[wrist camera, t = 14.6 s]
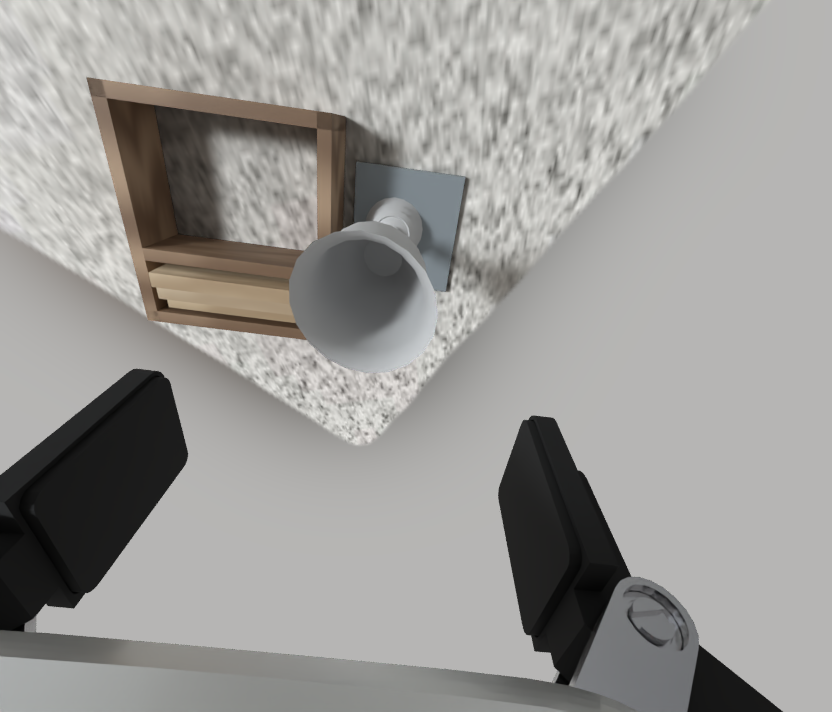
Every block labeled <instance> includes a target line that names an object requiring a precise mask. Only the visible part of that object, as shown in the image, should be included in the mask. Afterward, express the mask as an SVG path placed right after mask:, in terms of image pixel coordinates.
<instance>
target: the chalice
mask: <svg viewBox="0 0 832 712" xmlns="http://www.w3.org/2000/svg"><path fill="white" fill-rule="evenodd" d="M422 231H423V229H422V220H421V218H420V216H419V213H418V211H417V210H416V209H415V208H414V207H413V205H412V204H410V203H408V202H407V201H405V200H403V199H399V198H395V197H393V198H385V199H383V200H381V201H379V202H377V203H376V204H375V205H374V206H373V207H372V208H371V209H370V211H369V213H368V215H367V217H366V222H357V223H355V224H353V225H350V226H348V227H346V228H344V229H342V230H341V231H340V232H333V233H331V234H329V235H327V236H325V237H323V238H320V239H318V240H316V241H314V242H312V243H311V244H310V245H309V247H308V248H307V249H306V250H305V251H304V252H303V253H302V254H301V255H300V256H299V257H298V258H297V260H296V263H295V266H294V269H293V271H292V274H291V277H290V279H289V303H290V306H291V309H292V312H293V315H294V318H295V321H296V324H297V326H298V327H299V329H300V330H301V332H302V333H303V335H304V336H305V338H306V339H307V340H308V342H309V343H310V344H311V345H312V346H313V347H314V348H315V349H317V350H318V351H319V352H320V353H321V354H322V355H323V356H324V357H326V358H327V359H329V360H331V361H333V362H335V363H337V364H339V365H341V366H343V367H345V368H348V369H352V370H356V371H360V372H365V373H378V372H390V371H392V370H395V369H398V368H401V367H404V366H407V365H408V364H409V363H411V362H412V361H413V360H415V359H416V358H417V357H418V356H420V355H421V354H422V353H423V352H424V351H425V349H426V347H427V346H428V344H429V342H430V341H431V339H432V338H433V336H434V332H435V327H436V323H437V318H438V310H437V302H436V294H435V291H434V289H433V286H432V284H431V282H430V280H429V278H428V276H427V273H426V266H425V262H424V260H423V258H422V256H421V254H420V251H419V249H418V248H417V245H418V243H419V241H420V240H421V236H422Z"/></svg>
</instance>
